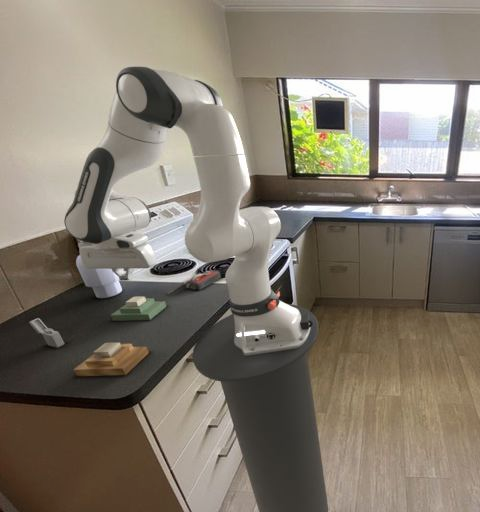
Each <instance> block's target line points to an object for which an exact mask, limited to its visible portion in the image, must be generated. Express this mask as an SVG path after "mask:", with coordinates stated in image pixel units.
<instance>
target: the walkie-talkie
mask: <svg viewBox="0 0 480 512" xmlns="http://www.w3.org/2000/svg"><path fill="white" fill-rule="evenodd" d="M221 278H222V277H221V273H220V271H219V270H212V269H209V270H205V271H204V272H203V273H198V274H196V275H193V276H192V277H190V278H188V279H187V280H183V281H181V284H179V286H176V287H174V288H172V289H171V290H169V291H167V292H165V296H168V295H171V294H172V293H175V292H176V291H179V290H180V289H183V288H186V289H192V290H199V291H200V290H202V289H204V288H206V287H208V286H209V285H211V284H213V283H214V282H216V281H219V280H220V279H221Z"/></svg>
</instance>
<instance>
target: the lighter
mask: <svg viewBox="0 0 480 512" xmlns="http://www.w3.org/2000/svg"><path fill="white" fill-rule="evenodd" d="M29 324H30V326H31V328H33V329H34V330H35V331H36V332H37V334H38V335H39V334H41V336H42V337H43V339H44V341H45V343H46V344H47V346H49V347H53V348H55V349H56V348H57V349H58V348H60V347H61V346H64V345H65V341H64V340H63V338H62V336H61V334H60V332H59V331H57V330H54V329H53V328H50V327H47V326H46V325H45V323H44V322H43V321H42V319H40V318H39V317H36V318H35V319H33V320H30V321H29Z"/></svg>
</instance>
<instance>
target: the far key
mask: <svg viewBox="0 0 480 512" xmlns="http://www.w3.org/2000/svg"><path fill="white" fill-rule="evenodd" d="M145 298H146V296H143V295H142V296H133V297H131V298H130V299H128V300H127V301H125V305H127V307H139V306H140V305H142V304H143V303H144V302H146V299H145Z"/></svg>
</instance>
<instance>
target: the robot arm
mask: <svg viewBox="0 0 480 512" xmlns="http://www.w3.org/2000/svg"><path fill="white" fill-rule="evenodd" d="M115 90H116V91H115V93H114V96H113V99H112V101H111V105H110V108H109V114H108V121H107V126H106V130H105V133H104V135H103V137H102V139H101V141H99V143H98V145H97V146H96V147H95V148H94V149H93V150H92V151H90V152H89V153H88V156H87V157H86V159H85V161H84V164H83V167H82V171H81V174H80V177H79V181H78V184H77V188H76V190H74V197H73V201H72V203H71V205H70V206H69V208H68V209H67V211H66V213H65V216H64V221H63V222H64V226H65V229H66V231H67V232H68V233H69V235H70V236H72V238H75V239H77V240H78V241H79V242H77V243H78V244H77V246H78V248H79V251H78V252H79V255H80V257H81V260H82V263H83V266H85V267H86V268H87V269H112V272H114V273H115V274H116V275H117V276H118V277H119V279H120V280H119V281H131V280H133V279H134V276H133V273H134V269H150V268H152V267H154V266H155V265H156V263H157V257H156V254H155V251H154V249H153V248H152V245H151V244H149V243H148V241H149V237H148V236H147V235H146V234H143V233H139V232H135V231H138V230H142V229H144V228H145V227H149V225H150V224H151V220H152V213H151V210H150V208H149V206H148V205H147V204H146V203H145V202H144V201H142V200H141V199H139V198H137V197H134V196H127V195H124V194H121V193H119V192H118V191H115V190H114V187H115V185H116V184H117V183H118V182H119V181H121V180H122V179H124V178H125V177H128V176H129V175H132V174H134V173H136V172H139V171H142V170H144V169H147V168H149V167H151V166H154V165H155V164H156V163H157V162H158V161H160V159H161V157H162V155H163V153H164V151H165V147H166V141H167V135H168V129H172V128H173V127H177V128H178V129H181V130H182V131H183V133H184V134H186V136H187V138H188V141H189V144H190V149H191V153H192V156H193V161H194V165H195V169H196V172H197V176H198V180H199V181H198V182H199V187H200V202H199V207H198V209H197V213H196V215H195V217H194V219H193V221H191V223H190V225H189V226H188V227H187V228H186V231H185V233H184V244H185V245H184V246H185V247H186V249H187V251H188V253H189V254H190V255H191V257H193V259H196V260H197V261H199V262H201V263H204V264H206V263H207V264H208V263H214V262H215V263H216V262H220V261H225V260H229V259H230V258H234V259H233V261H232V263H231V264H230V266H228V268H227V269H226V272H225V275H224V276H225V277H224V279H225V283H226V287H227V291H228V296H229V299H228V302H229V308H230V311H231V315H232V314H233V315H234V322H235V337H234V343H235V345H236V346H237V347H238V348H240V349H242V351H243V354H244V355H246V356H248V355H255V354H262V353H268V352H275V351H282V350H288V349H295V348H298V347H300V346H301V345H302V344H303V343H304V342H305V341H306V339H307V337H308V335H309V333H310V328H311V326H312V325H313V322H312V321H311V320H309V314H304V315H301V314H300V312H299V310H298V309H296V308H294V307H292V306H290V305H288V304H289V303H285V302H284V301H282V300H280V296H281V292H280V290H279V291H278V292H277V293H275V292H274V290H273V289H272V288H271V280H270V273H269V261H270V255H271V252H272V249H273V245H274V242H275V240H276V239H277V237H278V235H280V234H281V233H280V232H281V229H282V223H281V219H280V217H279V215H278V214H277V212H276V211H275V210H274V209H272V208H271V207H269V206H249V207H245V208H241V209H240V205H241V202H242V200H243V197H244V196H245V195H246V194H247V193H248V191H249V190H250V189H251V179H250V173H249V169H248V168H249V167H248V163H247V158H246V154H245V149H244V145H243V142H242V138H241V136H240V132H239V130H238V129H239V128H238V126H237V124H236V121H235V120H234V117H233V114H232V113H231V112H230V111H229V110H228V109H226V108H225V107H224V104H223V101H222V98H221V95H220V94H219V92H217V90H215V89H214V88H213V87H212V86H211V85H209V84H207V83H206V82H203V81H201V80H199V79H193V78H190V77H187V76H184V75H181V74H178V73H176V72H172V71H168V70H163V69H162V70H161V69H155V68H154V69H152V68H150V67H147V66H128V67H124V68H123V69H121V70H120V71H119V73H118V74H117V77H116V80H115ZM80 240H81V241H80ZM81 242H82V243H81ZM122 269H123V270H122Z"/></svg>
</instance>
